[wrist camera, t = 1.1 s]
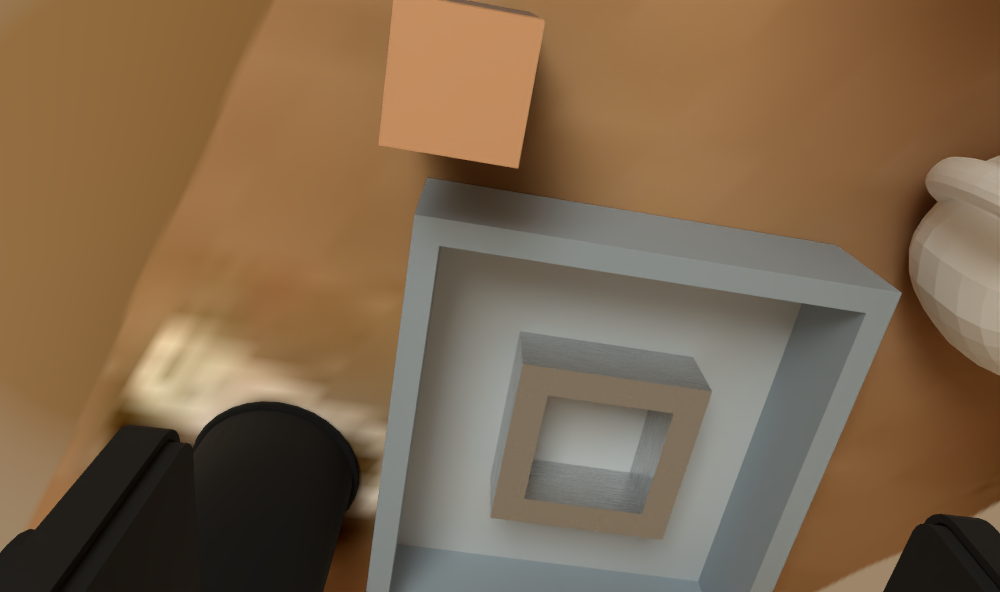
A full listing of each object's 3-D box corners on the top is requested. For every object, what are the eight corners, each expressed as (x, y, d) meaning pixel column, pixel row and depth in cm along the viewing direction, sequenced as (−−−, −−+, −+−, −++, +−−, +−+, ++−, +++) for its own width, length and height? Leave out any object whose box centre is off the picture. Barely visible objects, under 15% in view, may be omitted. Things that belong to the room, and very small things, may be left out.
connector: (425, -8, 26) (394, -8, 18) (529, 11, 27) (545, 20, 18) (412, 100, 28) (378, 144, 20) (510, 117, 28) (518, 168, 20)
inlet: (519, 331, 31) (522, 363, 28) (693, 357, 32) (712, 391, 29) (490, 475, 34) (490, 517, 32) (648, 496, 35) (662, 540, 32)
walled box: (427, 177, 29) (414, 214, 24) (836, 245, 31) (901, 292, 26) (378, 545, 37) (361, 628, 32) (706, 585, 38) (737, 671, 34)
